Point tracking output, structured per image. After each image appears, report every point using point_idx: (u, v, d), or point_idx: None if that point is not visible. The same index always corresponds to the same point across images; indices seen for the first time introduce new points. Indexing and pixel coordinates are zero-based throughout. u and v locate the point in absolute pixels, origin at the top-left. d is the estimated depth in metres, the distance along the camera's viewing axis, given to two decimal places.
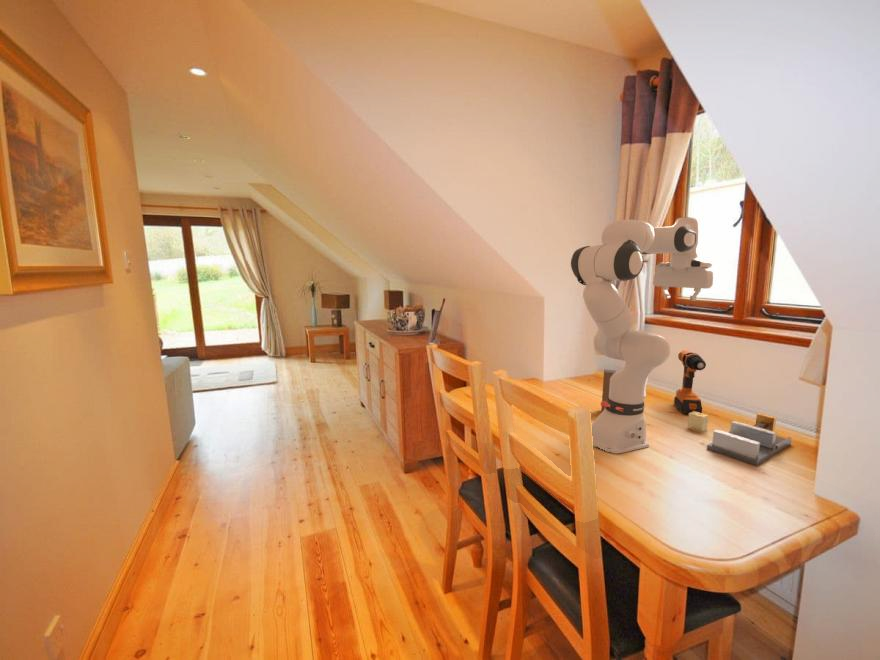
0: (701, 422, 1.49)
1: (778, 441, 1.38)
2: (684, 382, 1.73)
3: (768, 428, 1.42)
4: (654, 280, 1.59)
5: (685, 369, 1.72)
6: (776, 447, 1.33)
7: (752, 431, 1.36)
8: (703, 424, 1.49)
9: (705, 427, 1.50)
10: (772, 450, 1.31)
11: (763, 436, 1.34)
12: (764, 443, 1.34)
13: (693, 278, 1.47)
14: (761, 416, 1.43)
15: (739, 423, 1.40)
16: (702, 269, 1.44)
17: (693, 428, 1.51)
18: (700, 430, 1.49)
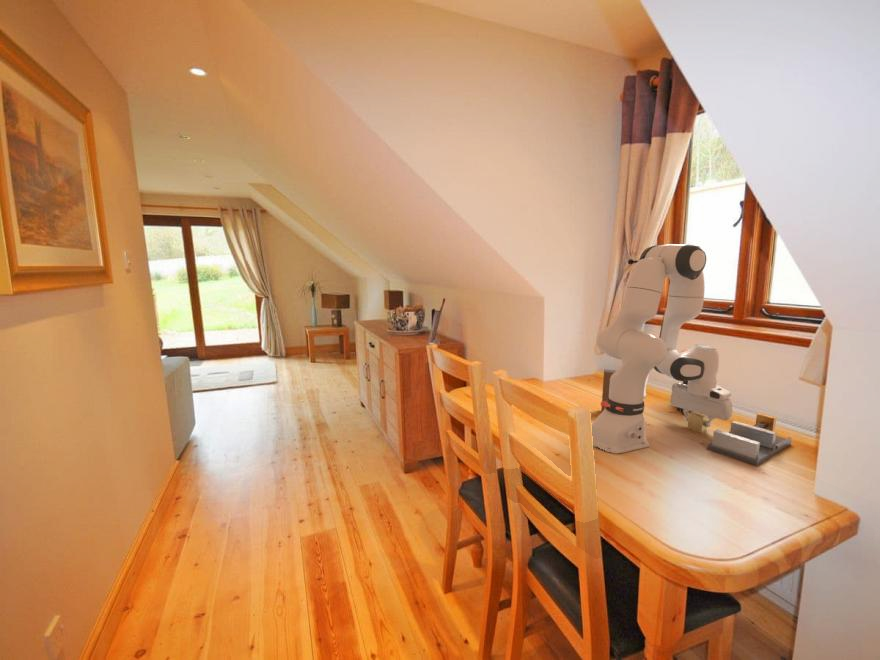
0: (701, 422, 1.49)
1: (778, 441, 1.38)
2: (684, 382, 1.73)
3: (768, 428, 1.42)
4: (671, 400, 1.57)
5: None
6: (776, 447, 1.33)
7: (752, 431, 1.36)
8: (703, 424, 1.49)
9: (705, 427, 1.50)
10: (772, 450, 1.31)
11: (763, 436, 1.34)
12: (764, 443, 1.34)
13: (712, 407, 1.45)
14: (761, 416, 1.43)
15: (739, 423, 1.40)
16: (721, 402, 1.42)
17: (693, 428, 1.51)
18: (700, 430, 1.49)
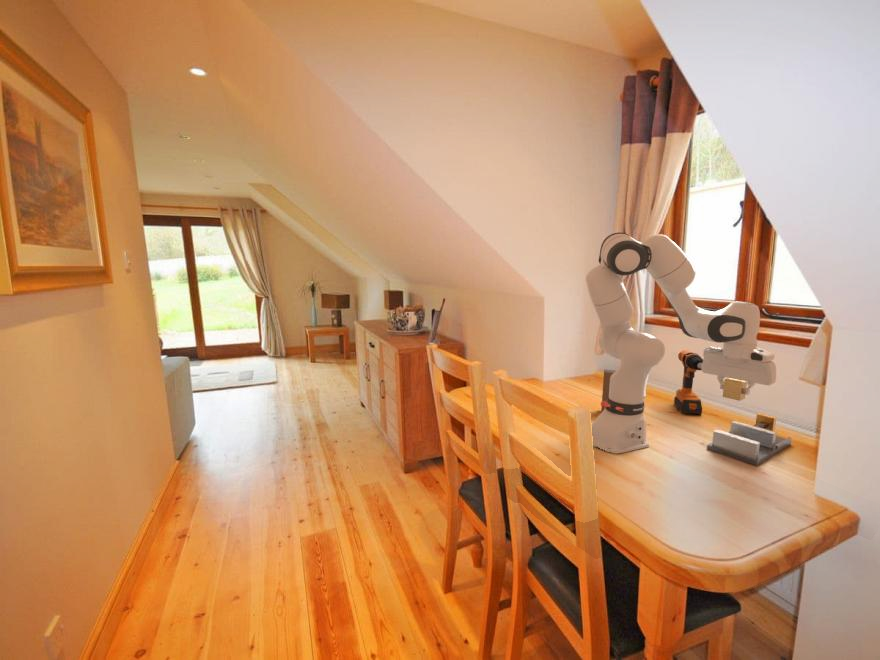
0: (739, 389, 1.32)
1: (778, 441, 1.38)
2: (684, 382, 1.73)
3: (768, 428, 1.42)
4: (703, 366, 1.40)
5: (685, 369, 1.72)
6: (776, 447, 1.33)
7: (752, 431, 1.36)
8: (741, 391, 1.32)
9: (743, 395, 1.33)
10: (772, 450, 1.31)
11: (763, 436, 1.34)
12: (764, 443, 1.34)
13: (753, 372, 1.29)
14: (761, 416, 1.43)
15: (739, 423, 1.40)
16: (765, 364, 1.25)
17: (730, 396, 1.34)
18: (738, 398, 1.32)
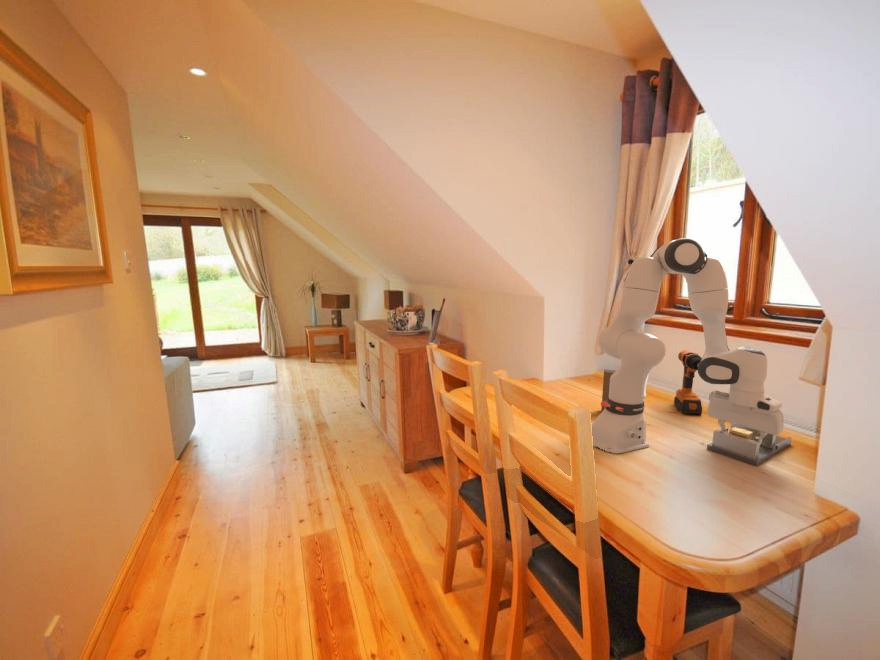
0: None
1: (778, 441, 1.38)
2: (684, 382, 1.73)
3: None
4: (708, 410, 1.38)
5: (685, 369, 1.72)
6: (776, 447, 1.33)
7: (752, 431, 1.36)
8: None
9: None
10: (772, 450, 1.31)
11: None
12: (764, 443, 1.34)
13: (759, 420, 1.26)
14: None
15: None
16: (772, 413, 1.23)
17: None
18: None
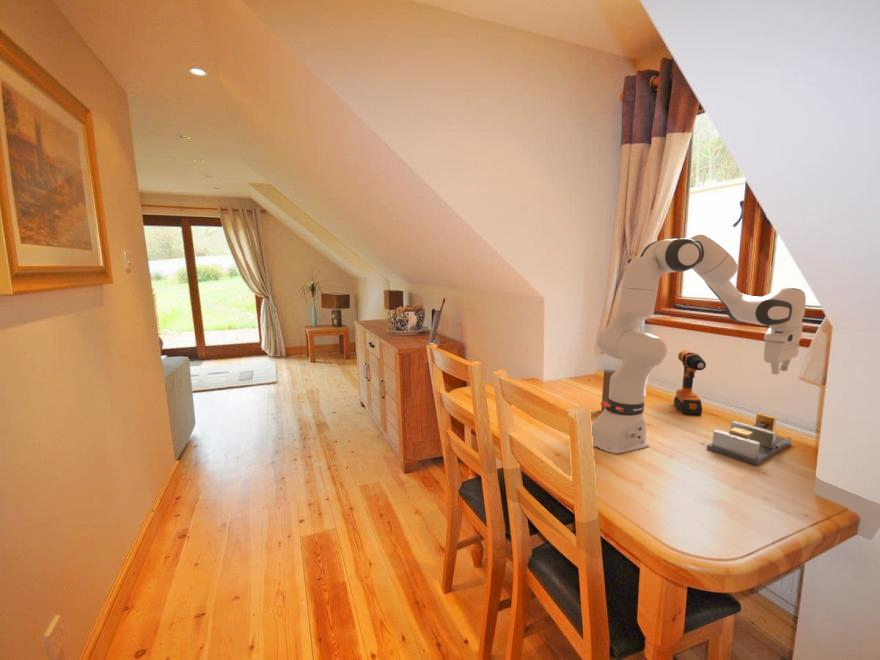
0: None
1: (778, 441, 1.38)
2: (684, 382, 1.73)
3: (768, 428, 1.42)
4: None
5: (685, 369, 1.72)
6: (776, 447, 1.33)
7: (752, 431, 1.36)
8: None
9: None
10: (772, 450, 1.31)
11: (763, 436, 1.34)
12: (764, 443, 1.34)
13: None
14: (761, 416, 1.43)
15: (739, 423, 1.40)
16: (765, 342, 1.40)
17: None
18: None
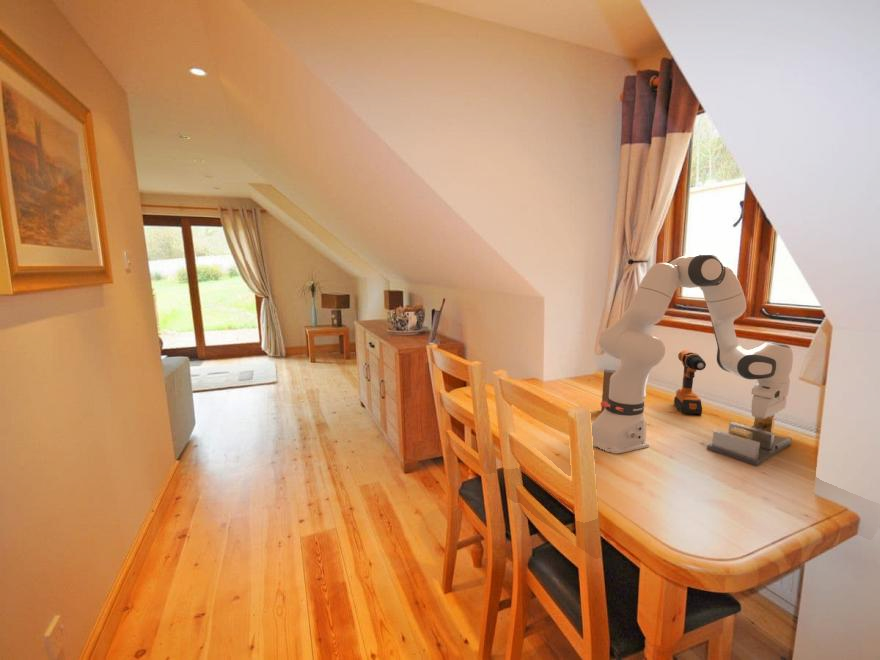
0: None
1: (778, 441, 1.38)
2: (684, 382, 1.73)
3: (766, 429, 1.41)
4: None
5: (685, 369, 1.72)
6: (776, 447, 1.33)
7: None
8: None
9: None
10: (772, 450, 1.31)
11: (761, 437, 1.33)
12: (762, 444, 1.33)
13: None
14: None
15: (737, 424, 1.40)
16: (753, 396, 1.40)
17: None
18: None
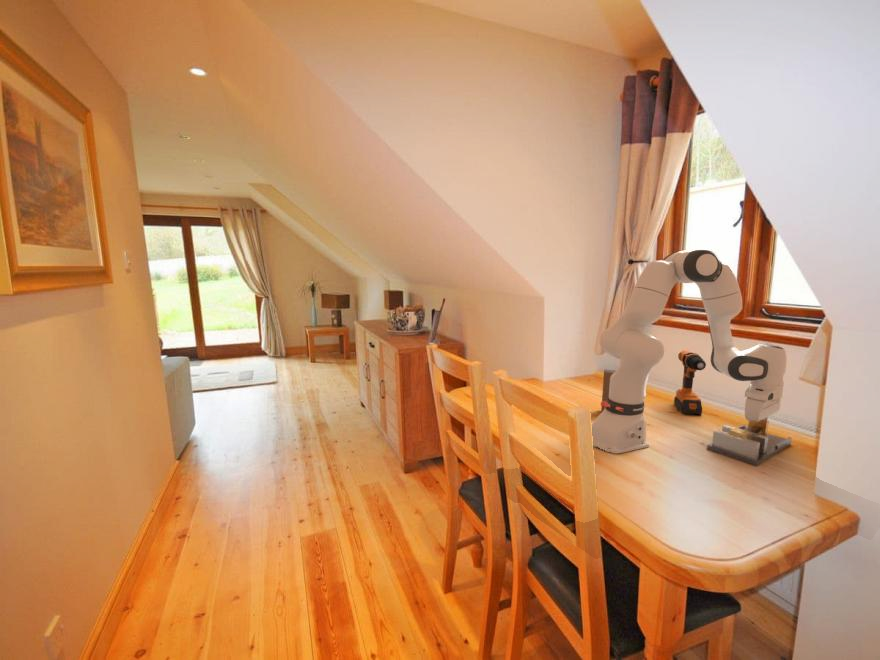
0: None
1: (778, 441, 1.38)
2: (684, 382, 1.73)
3: (760, 432, 1.38)
4: None
5: (685, 369, 1.72)
6: (776, 447, 1.33)
7: None
8: None
9: None
10: (772, 450, 1.31)
11: None
12: None
13: None
14: None
15: (731, 427, 1.37)
16: (746, 399, 1.38)
17: None
18: None
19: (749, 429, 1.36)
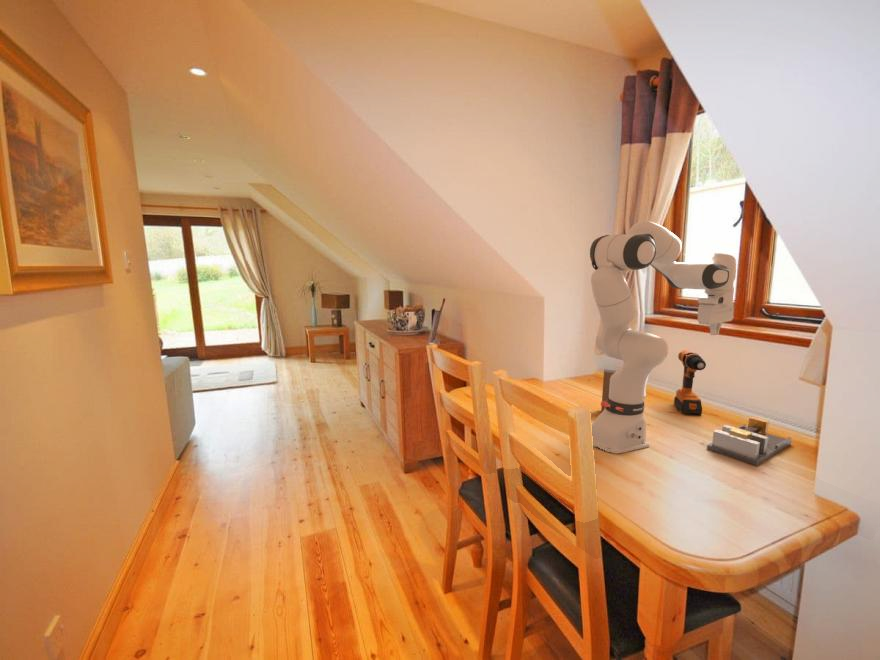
0: None
1: (778, 441, 1.38)
2: (684, 382, 1.73)
3: (760, 432, 1.38)
4: None
5: (685, 369, 1.72)
6: (776, 447, 1.33)
7: None
8: None
9: None
10: (772, 450, 1.31)
11: None
12: None
13: None
14: (753, 420, 1.40)
15: (731, 427, 1.37)
16: None
17: None
18: None
19: (749, 429, 1.36)
